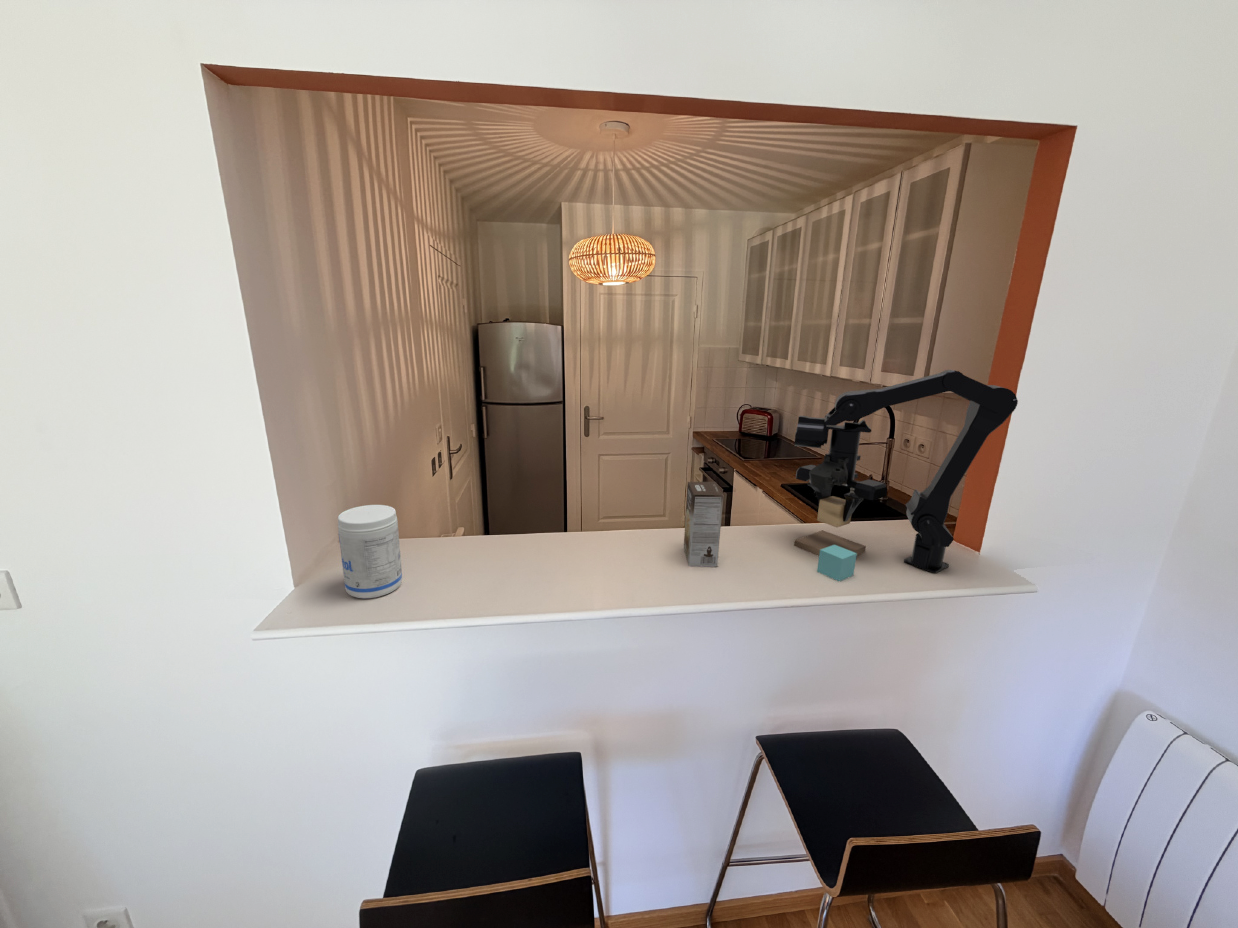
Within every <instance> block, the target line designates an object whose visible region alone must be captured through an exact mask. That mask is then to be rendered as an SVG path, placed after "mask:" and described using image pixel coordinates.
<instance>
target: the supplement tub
mask: <svg viewBox="0 0 1238 928" xmlns="http://www.w3.org/2000/svg"><path fill="white" fill-rule="evenodd" d="M398 523H399V522H398V517H397V511H396V509H395V508H394V507H392V506H390V505H386V504H385V505H384V504H367V505H361V506H356V507H351V508H349V509H346V510H344V511H343V512H341V513H340V514H339V515H338V517H337V530H338V539H339V548H340V549H339V550H340V556H341V564H342V572H343V581H344V588H345V591H346V593H347V594H348V595H349V596H351V597H353V598H356V599H357V598H358V599H375V598H380V597H383V596H386V595H387V594H390V593H391V592H394V591H396V590H397V589H398V588H399V587H400V586H401V584H402V581H403V570H402V559H401V546H400V535H399V534H400V533H399V524H398Z"/></svg>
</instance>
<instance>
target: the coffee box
mask: <svg viewBox="0 0 1238 928" xmlns="http://www.w3.org/2000/svg"><path fill="white" fill-rule="evenodd" d="M686 488H687V490H686V501H685V502H686V504H685V505H686V506H685V518H684V519H685V520H684V522H685V523H684V533H683V535H684V536H683V550H684V553H685V558H686V561H687V564H688V566H689V567H697V568H698V567H699V568H700V567H702V568H703V567H704V568H705V567H708V568H709V567H711V568H712V567H713V568H717V567H718V561H719V551H720V550H719V549H720V539H721V528H722V518H723V507H724V494H723V491H721V489H720V487H719V485H718V483H717V482H716V481H687V487H686Z"/></svg>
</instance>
